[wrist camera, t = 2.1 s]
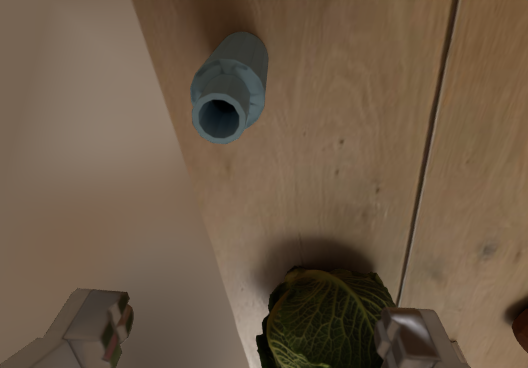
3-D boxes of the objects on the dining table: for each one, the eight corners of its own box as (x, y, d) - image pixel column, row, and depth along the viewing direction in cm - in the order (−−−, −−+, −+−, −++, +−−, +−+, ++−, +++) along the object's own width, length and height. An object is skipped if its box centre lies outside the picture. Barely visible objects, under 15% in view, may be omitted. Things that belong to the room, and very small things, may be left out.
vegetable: (315, 279, 61) (358, 400, 50) (223, 291, 50) (254, 447, 40) (390, 231, 47) (470, 385, 37) (286, 236, 37) (355, 449, 27)
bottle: (216, 29, 30) (170, 71, 17) (270, 33, 31) (265, 78, 17) (217, 83, 33) (179, 155, 20) (266, 86, 33) (259, 160, 20)
